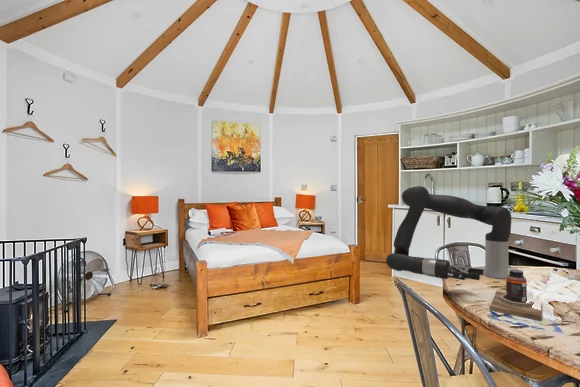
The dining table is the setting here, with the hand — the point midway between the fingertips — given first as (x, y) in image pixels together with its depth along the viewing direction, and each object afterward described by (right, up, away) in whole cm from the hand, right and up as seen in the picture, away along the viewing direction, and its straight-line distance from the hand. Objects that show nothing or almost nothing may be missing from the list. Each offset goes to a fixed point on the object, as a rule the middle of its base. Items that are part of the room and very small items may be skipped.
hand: (481, 274), depth 118 cm
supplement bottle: (+8, -8, -7) cm, 13 cm away
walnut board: (+9, -10, -7) cm, 14 cm away
